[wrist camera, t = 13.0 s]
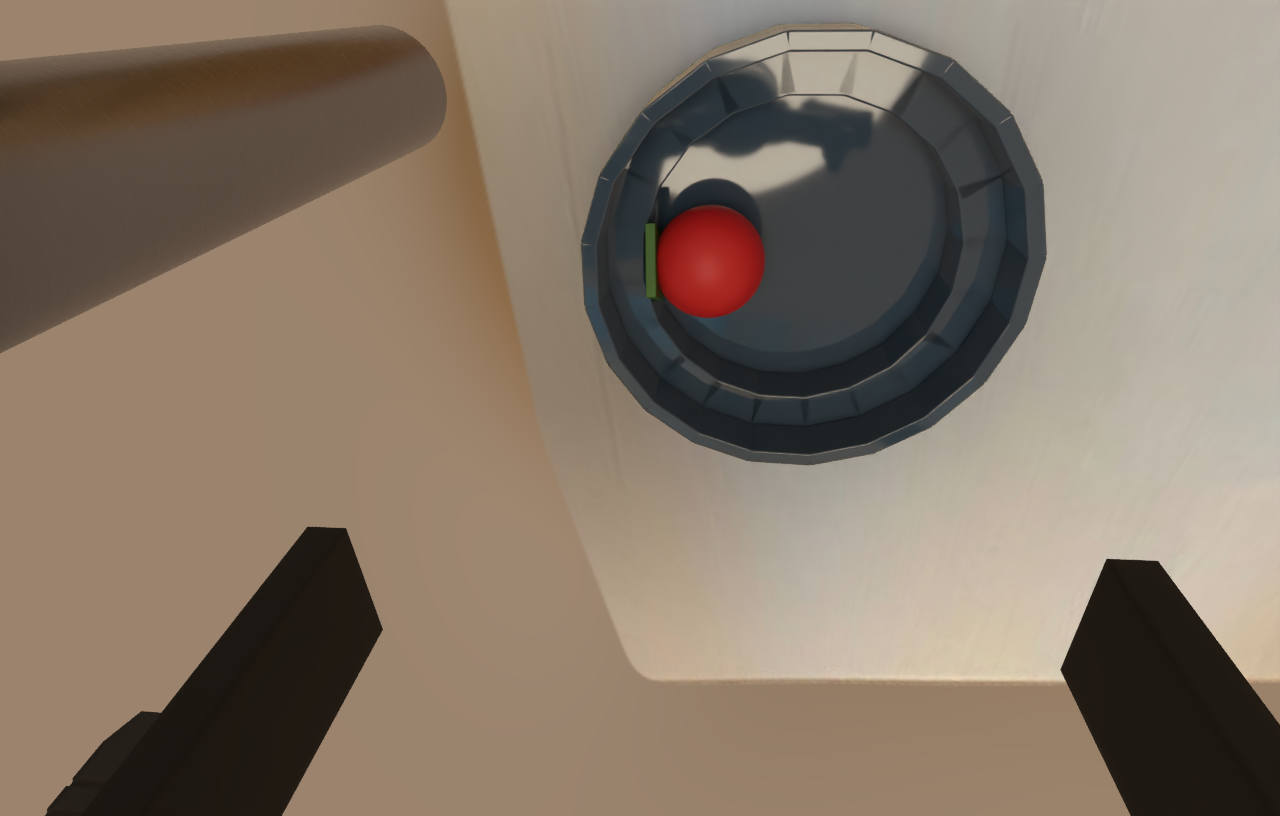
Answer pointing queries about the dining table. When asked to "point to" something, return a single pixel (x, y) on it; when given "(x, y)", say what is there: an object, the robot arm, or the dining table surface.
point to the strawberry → (704, 261)
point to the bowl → (821, 243)
